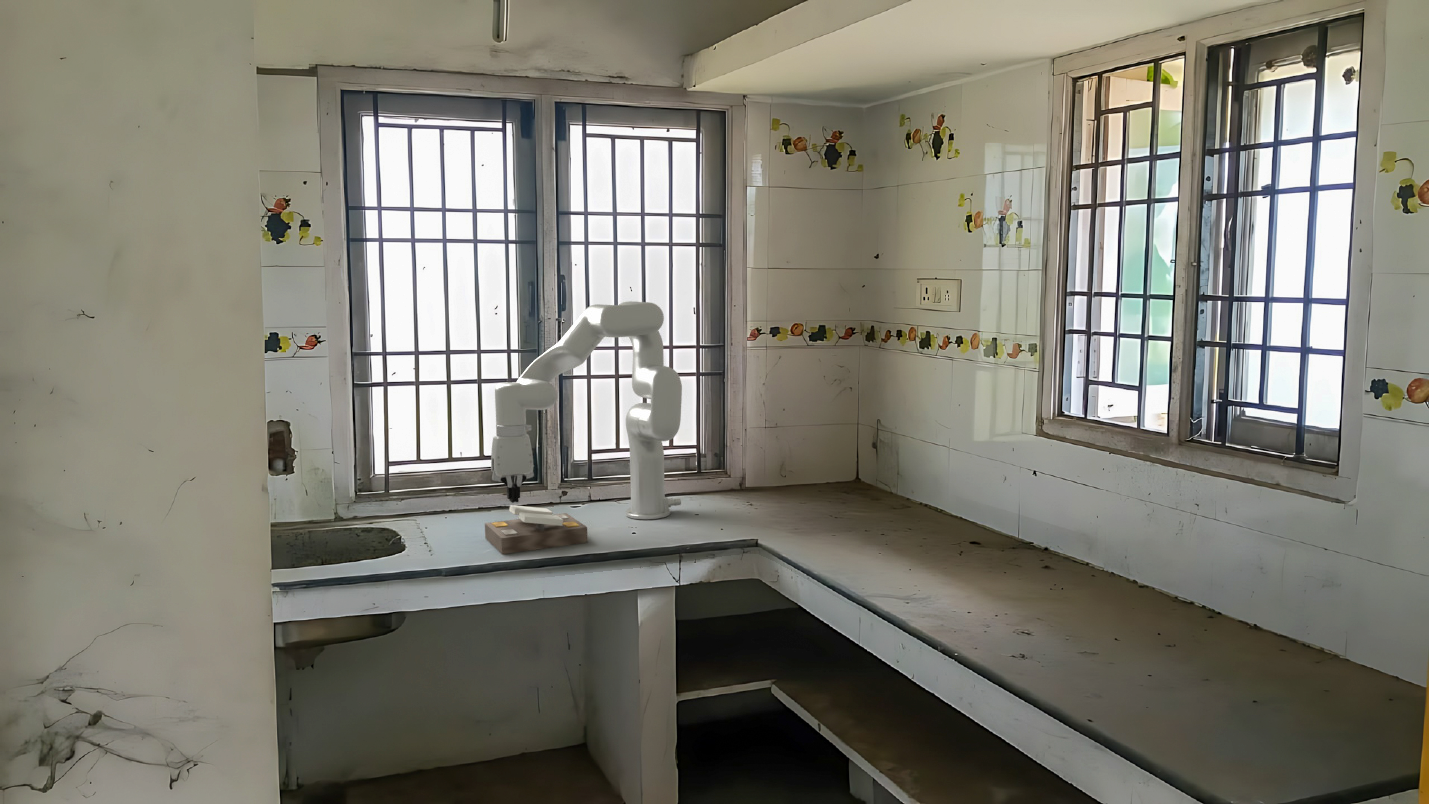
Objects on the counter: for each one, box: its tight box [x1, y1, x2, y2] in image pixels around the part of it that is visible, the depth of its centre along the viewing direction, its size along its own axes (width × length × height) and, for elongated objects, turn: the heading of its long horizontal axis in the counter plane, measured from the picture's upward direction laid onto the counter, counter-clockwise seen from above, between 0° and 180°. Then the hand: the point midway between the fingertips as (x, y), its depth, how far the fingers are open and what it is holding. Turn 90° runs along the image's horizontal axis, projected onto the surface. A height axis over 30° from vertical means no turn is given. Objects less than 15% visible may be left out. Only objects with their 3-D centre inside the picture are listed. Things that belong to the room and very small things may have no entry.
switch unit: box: [484, 512, 589, 555], centre depth 266 cm, size 22×17×6 cm
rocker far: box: [509, 504, 554, 516], centre depth 270 cm, size 10×5×2 cm, turn 116°
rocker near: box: [518, 512, 563, 526], centre depth 262 cm, size 10×5×2 cm, turn 116°
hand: (513, 501), depth 267 cm, fingers closed
